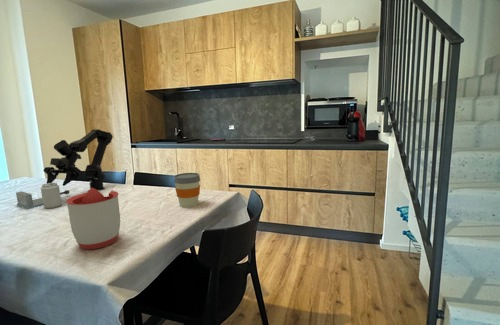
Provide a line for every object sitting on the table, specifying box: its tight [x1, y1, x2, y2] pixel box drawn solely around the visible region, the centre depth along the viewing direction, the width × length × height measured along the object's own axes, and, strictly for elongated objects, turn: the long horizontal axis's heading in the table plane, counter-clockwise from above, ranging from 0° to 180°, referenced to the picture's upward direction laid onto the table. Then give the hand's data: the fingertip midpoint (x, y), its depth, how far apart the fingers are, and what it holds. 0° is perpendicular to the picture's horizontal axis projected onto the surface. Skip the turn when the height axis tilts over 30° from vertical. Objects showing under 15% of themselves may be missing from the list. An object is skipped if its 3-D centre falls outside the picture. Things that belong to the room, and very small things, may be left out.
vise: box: [15, 189, 70, 210], centre depth 145 cm, size 22×13×7 cm, turn 148°
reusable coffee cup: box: [173, 172, 201, 208], centre depth 133 cm, size 13×12×15 cm
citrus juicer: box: [65, 188, 121, 250], centre depth 94 cm, size 16×17×20 cm
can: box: [40, 182, 63, 209], centre depth 135 cm, size 8×8×12 cm
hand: (55, 185), depth 138 cm, fingers open, 9 cm apart
